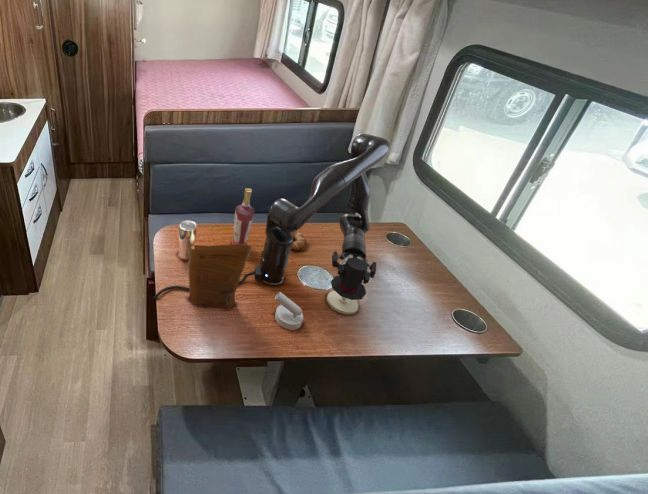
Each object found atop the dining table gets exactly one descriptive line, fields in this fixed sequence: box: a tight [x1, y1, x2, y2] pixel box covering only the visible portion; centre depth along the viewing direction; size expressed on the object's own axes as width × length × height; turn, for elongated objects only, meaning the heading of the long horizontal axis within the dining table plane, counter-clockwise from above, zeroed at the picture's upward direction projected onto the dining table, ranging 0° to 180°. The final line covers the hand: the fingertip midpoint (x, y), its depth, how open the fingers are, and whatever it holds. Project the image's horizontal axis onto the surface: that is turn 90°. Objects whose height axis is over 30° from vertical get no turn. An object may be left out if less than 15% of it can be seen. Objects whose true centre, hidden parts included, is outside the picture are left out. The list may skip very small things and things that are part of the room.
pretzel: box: [291, 231, 308, 252], centre depth 164 cm, size 12×11×4 cm
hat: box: [330, 257, 369, 301], centre depth 131 cm, size 11×11×11 cm
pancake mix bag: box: [187, 244, 252, 310], centre depth 130 cm, size 7×19×28 cm, turn 83°
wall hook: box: [274, 291, 304, 331], centre depth 129 cm, size 9×10×10 cm
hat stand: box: [326, 290, 359, 316], centre depth 133 cm, size 10×10×18 cm
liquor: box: [230, 187, 256, 245], centre depth 156 cm, size 7×7×28 cm
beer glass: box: [177, 220, 198, 261], centre depth 154 cm, size 7×7×15 cm
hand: (353, 278), depth 129 cm, fingers open, 6 cm apart
